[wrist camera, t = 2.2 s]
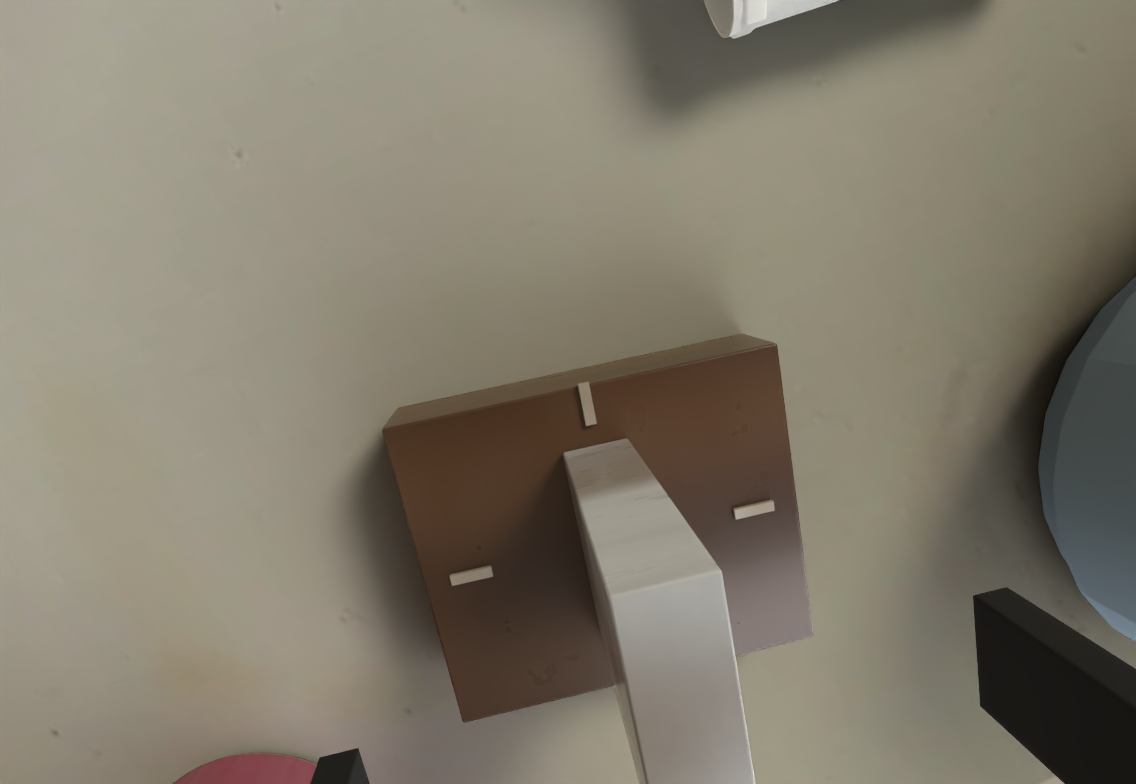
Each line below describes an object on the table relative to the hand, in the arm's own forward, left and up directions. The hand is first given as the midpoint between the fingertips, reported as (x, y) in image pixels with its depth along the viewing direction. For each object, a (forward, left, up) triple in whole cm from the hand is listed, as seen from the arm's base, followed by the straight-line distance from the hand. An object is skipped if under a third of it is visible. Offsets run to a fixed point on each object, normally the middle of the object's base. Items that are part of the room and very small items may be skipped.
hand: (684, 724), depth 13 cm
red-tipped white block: (0, 0, -8) cm, 8 cm away
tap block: (0, 0, -11) cm, 11 cm away
